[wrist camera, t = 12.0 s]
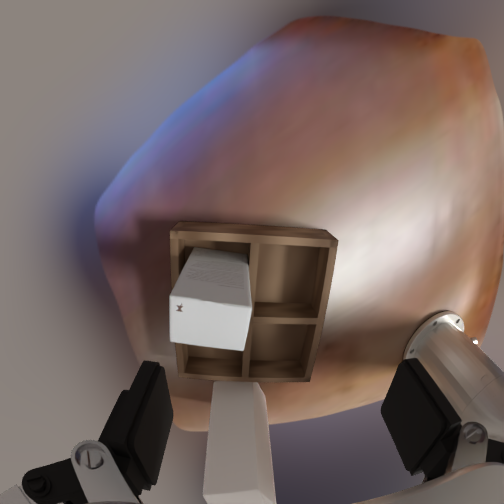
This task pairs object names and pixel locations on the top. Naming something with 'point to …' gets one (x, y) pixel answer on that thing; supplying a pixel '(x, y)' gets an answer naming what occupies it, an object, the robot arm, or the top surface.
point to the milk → (238, 446)
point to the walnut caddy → (264, 300)
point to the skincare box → (211, 300)
